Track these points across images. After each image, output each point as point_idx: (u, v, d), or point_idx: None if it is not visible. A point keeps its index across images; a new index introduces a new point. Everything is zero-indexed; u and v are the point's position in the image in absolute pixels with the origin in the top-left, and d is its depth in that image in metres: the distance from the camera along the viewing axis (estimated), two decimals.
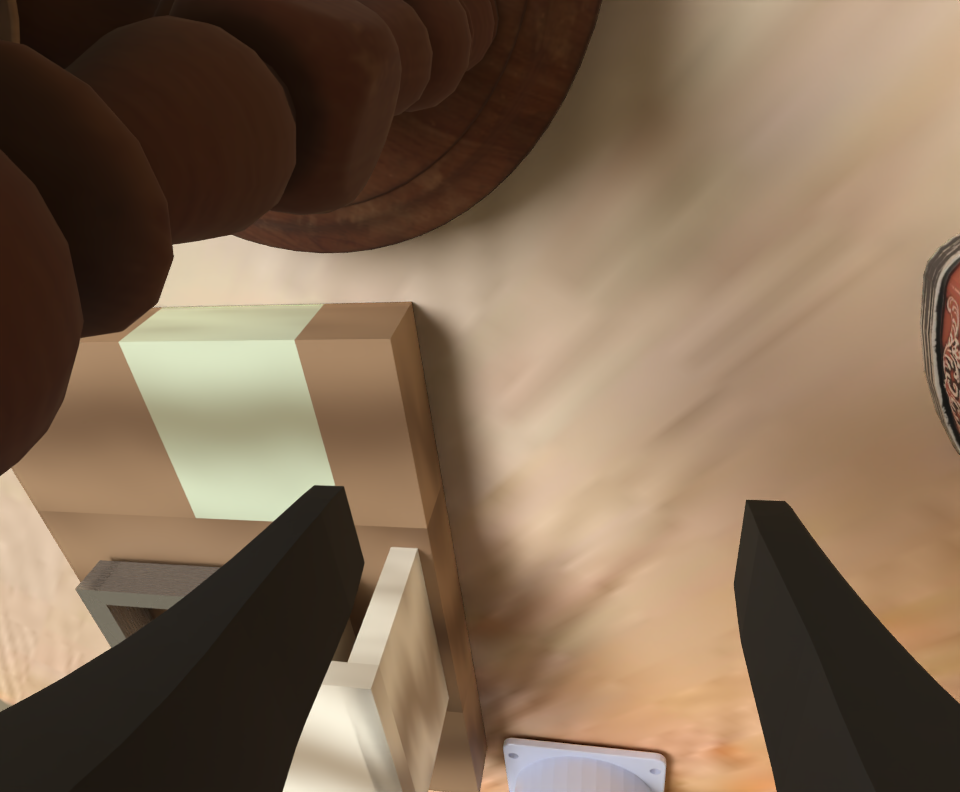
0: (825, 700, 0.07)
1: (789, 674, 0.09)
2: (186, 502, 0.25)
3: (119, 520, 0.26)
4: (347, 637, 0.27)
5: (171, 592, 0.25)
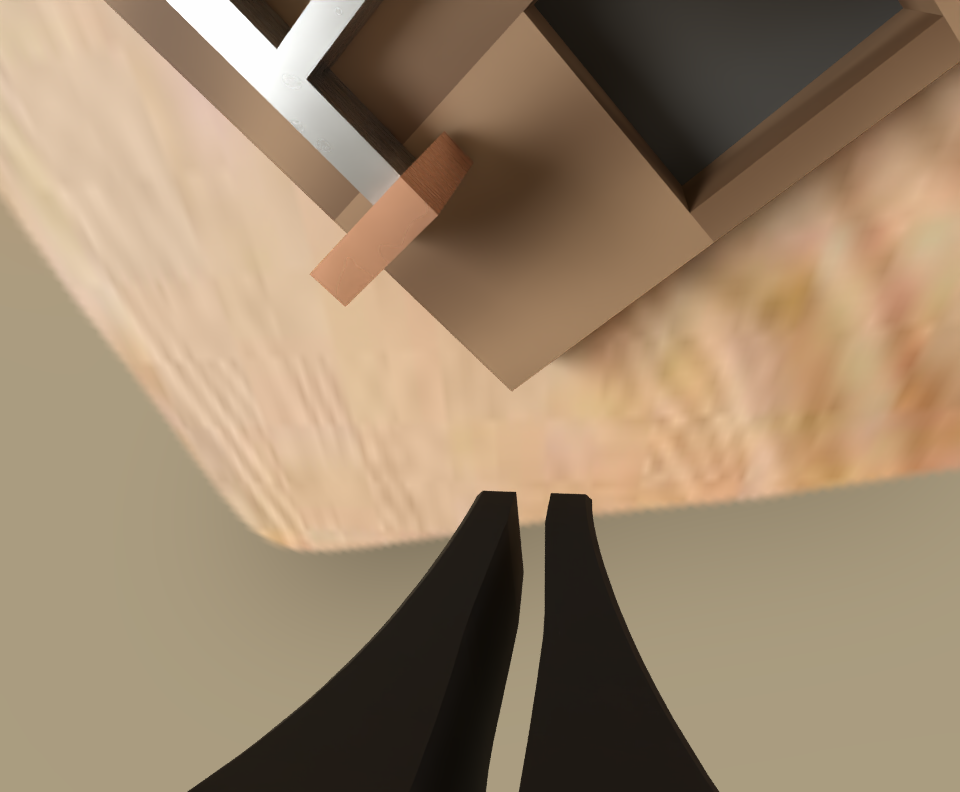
0: None
1: None
2: None
3: None
4: None
5: None
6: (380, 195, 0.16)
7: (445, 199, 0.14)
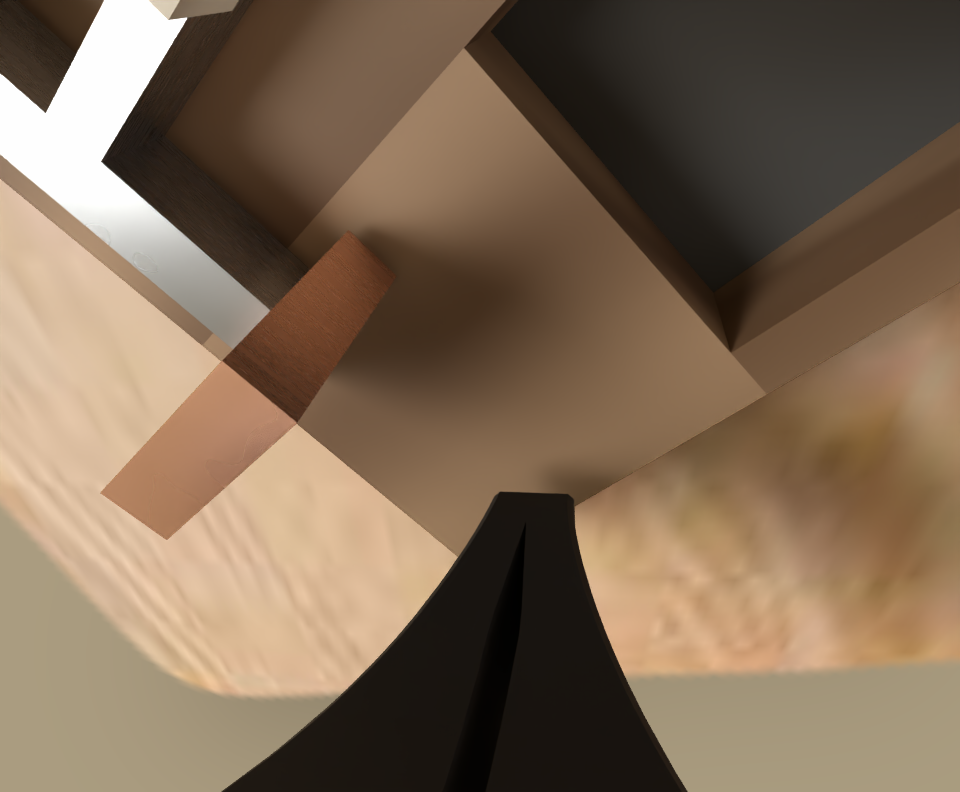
0: None
1: None
2: None
3: None
4: None
5: None
6: (242, 336, 0.10)
7: (322, 377, 0.08)
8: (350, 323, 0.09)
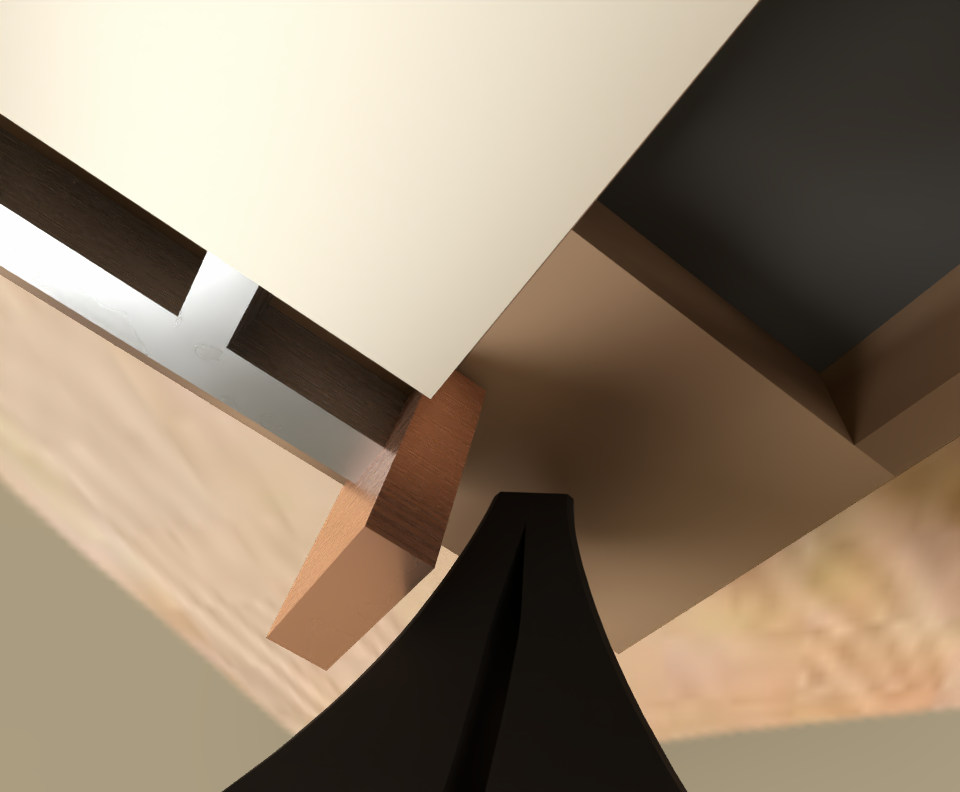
0: None
1: None
2: None
3: None
4: None
5: None
6: (360, 471, 0.11)
7: (445, 515, 0.09)
8: (457, 453, 0.10)
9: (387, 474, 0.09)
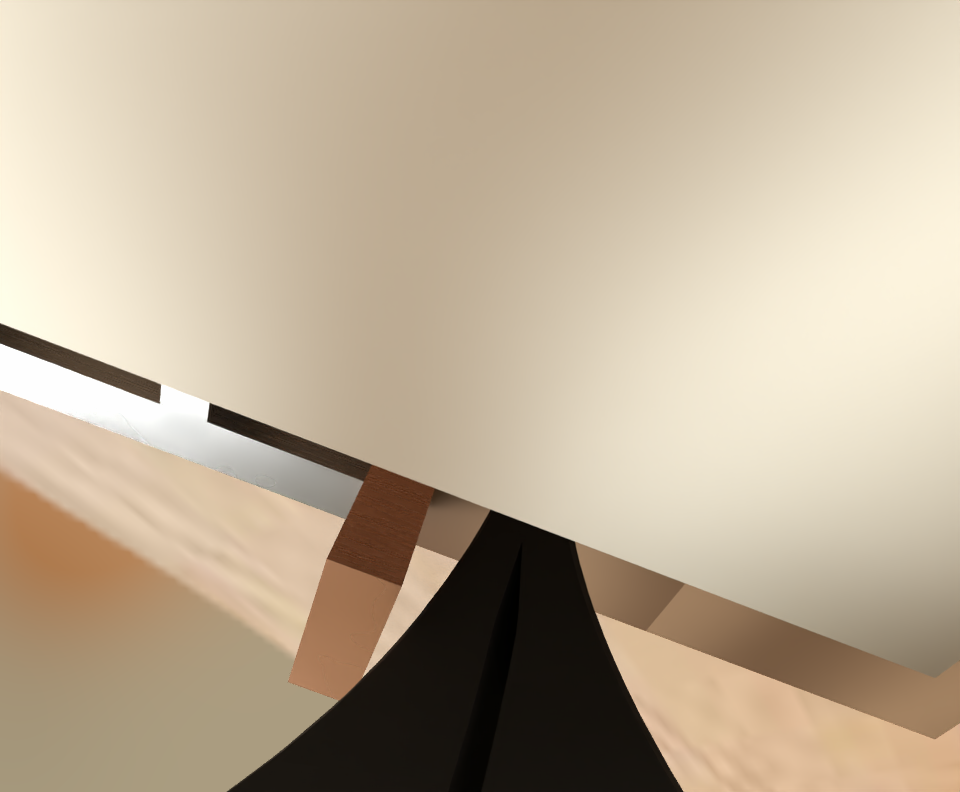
0: None
1: None
2: None
3: None
4: None
5: None
6: None
7: (414, 535, 0.09)
8: None
9: (352, 506, 0.09)
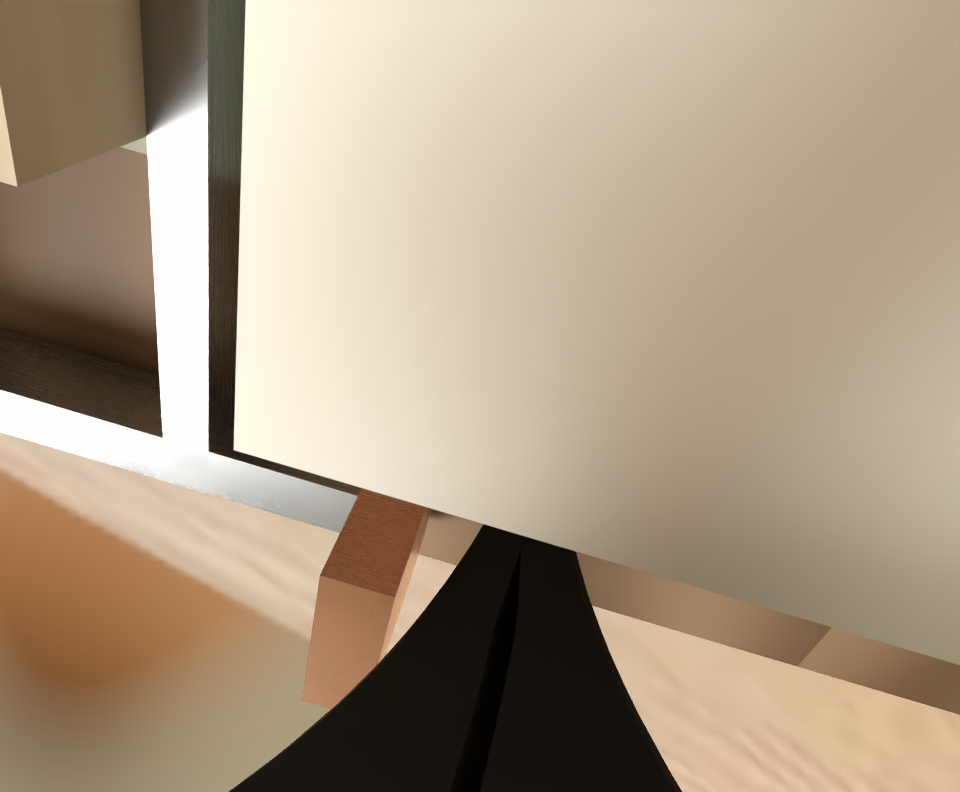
0: None
1: None
2: None
3: None
4: None
5: None
6: None
7: (408, 546, 0.09)
8: None
9: (345, 523, 0.09)
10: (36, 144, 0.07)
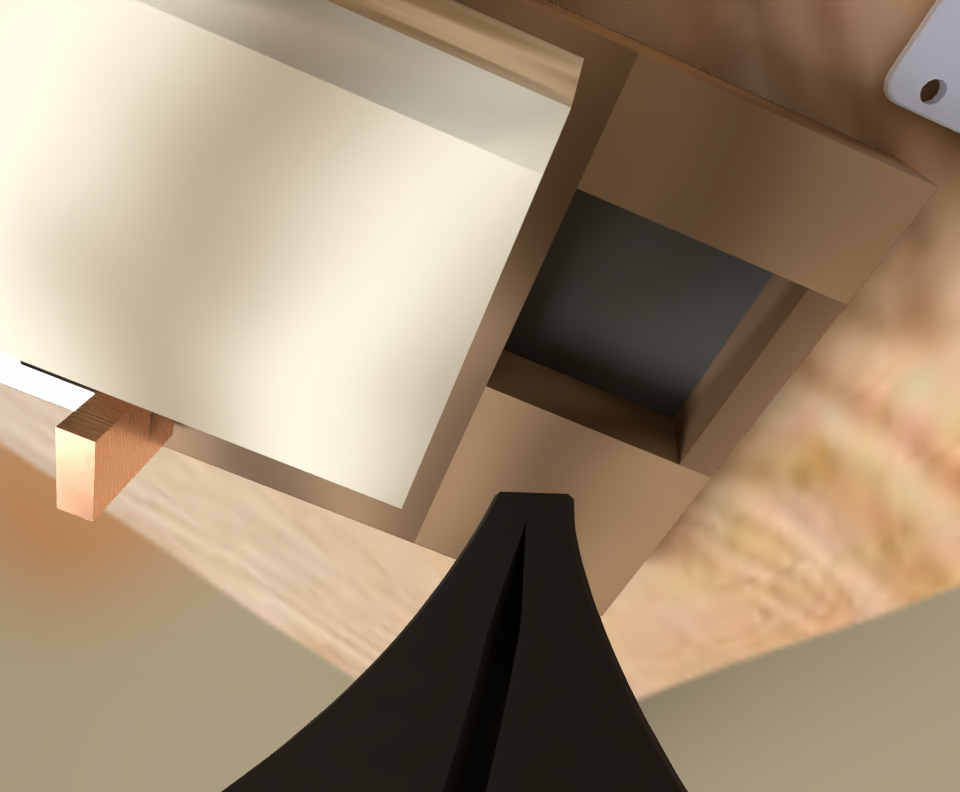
0: None
1: None
2: None
3: None
4: None
5: None
6: None
7: (114, 420, 0.17)
8: None
9: (81, 405, 0.17)
10: None
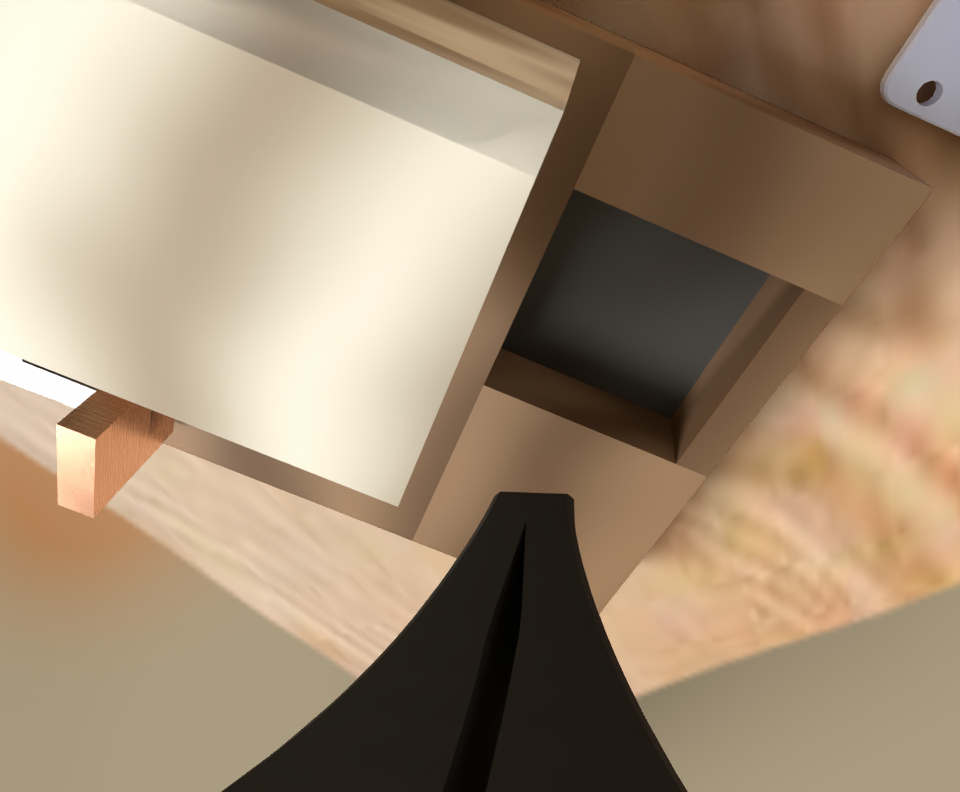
0: None
1: None
2: None
3: None
4: None
5: None
6: None
7: (115, 418, 0.17)
8: None
9: (82, 402, 0.17)
10: None
